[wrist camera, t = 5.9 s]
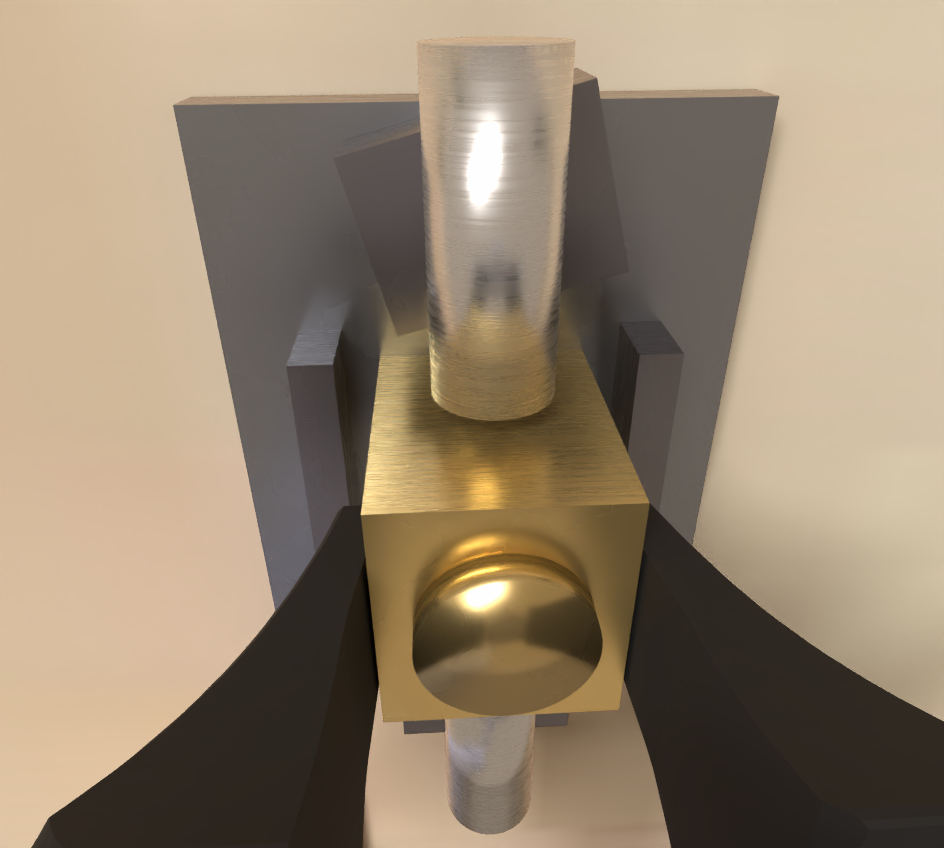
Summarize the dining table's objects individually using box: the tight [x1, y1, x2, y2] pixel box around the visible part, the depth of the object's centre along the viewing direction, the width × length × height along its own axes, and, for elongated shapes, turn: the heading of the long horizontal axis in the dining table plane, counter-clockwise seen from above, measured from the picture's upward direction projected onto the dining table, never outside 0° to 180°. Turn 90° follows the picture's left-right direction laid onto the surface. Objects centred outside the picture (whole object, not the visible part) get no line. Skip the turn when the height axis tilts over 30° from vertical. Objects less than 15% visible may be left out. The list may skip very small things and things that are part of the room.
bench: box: [173, 37, 779, 834], centre depth 14 cm, size 16×10×5 cm, turn 0°
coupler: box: [361, 350, 650, 722], centre depth 13 cm, size 4×4×6 cm
